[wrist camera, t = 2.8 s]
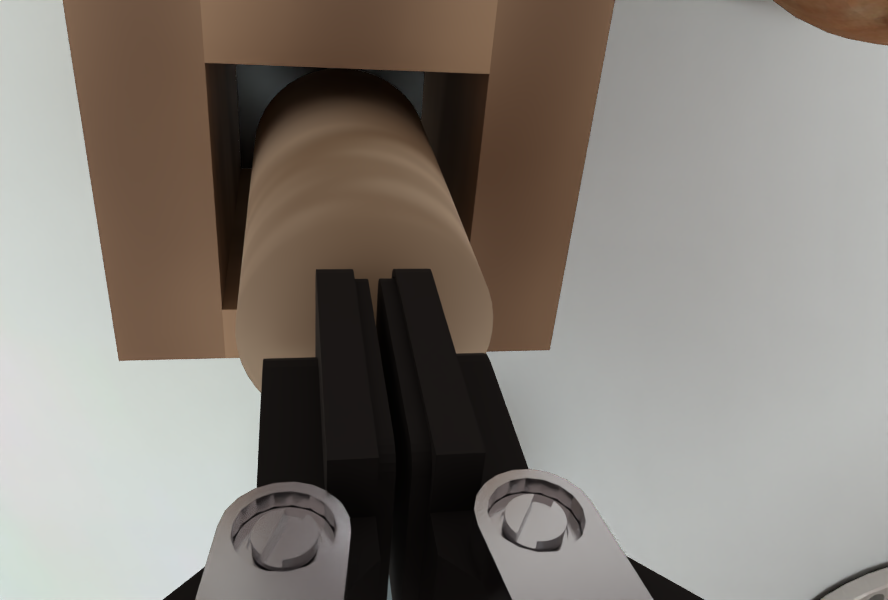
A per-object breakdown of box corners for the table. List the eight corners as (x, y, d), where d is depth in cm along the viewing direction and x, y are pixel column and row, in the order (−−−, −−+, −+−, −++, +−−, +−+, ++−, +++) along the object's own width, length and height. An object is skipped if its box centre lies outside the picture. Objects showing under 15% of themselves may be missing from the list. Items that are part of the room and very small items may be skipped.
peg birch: (432, 71, 18) (508, 217, 12) (420, 230, 20) (479, 426, 14) (250, 64, 17) (228, 216, 11) (257, 229, 19) (241, 436, 13)
